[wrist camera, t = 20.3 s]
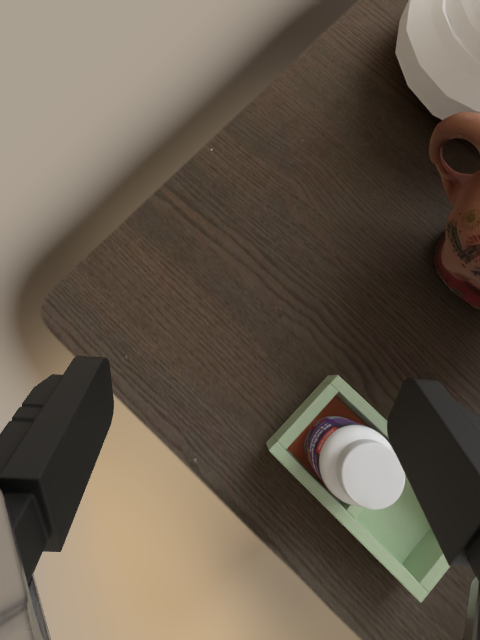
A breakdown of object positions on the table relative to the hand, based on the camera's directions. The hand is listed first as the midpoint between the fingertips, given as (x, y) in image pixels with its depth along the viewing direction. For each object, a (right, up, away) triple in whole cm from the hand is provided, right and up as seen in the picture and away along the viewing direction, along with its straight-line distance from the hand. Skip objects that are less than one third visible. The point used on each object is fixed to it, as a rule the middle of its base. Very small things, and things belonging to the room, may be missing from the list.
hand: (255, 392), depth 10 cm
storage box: (+11, -12, +22) cm, 27 cm away
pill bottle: (+8, -9, +22) cm, 25 cm away
